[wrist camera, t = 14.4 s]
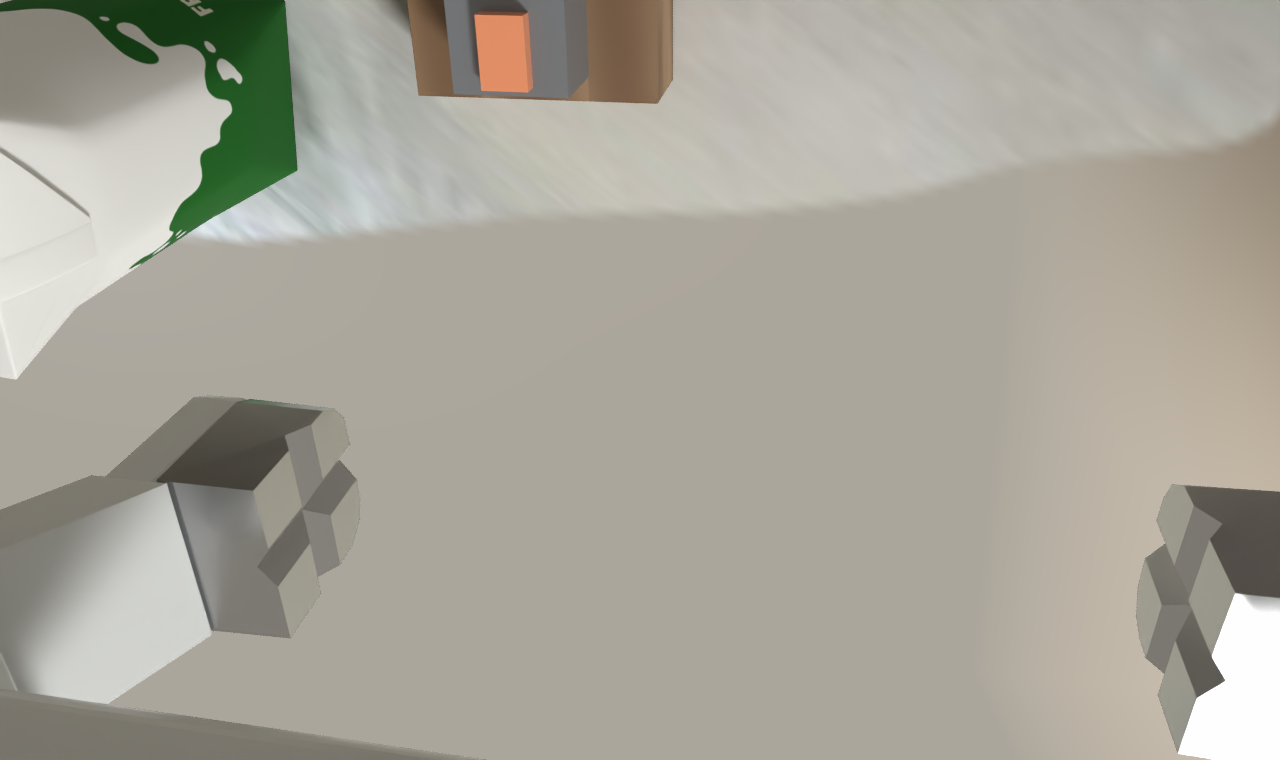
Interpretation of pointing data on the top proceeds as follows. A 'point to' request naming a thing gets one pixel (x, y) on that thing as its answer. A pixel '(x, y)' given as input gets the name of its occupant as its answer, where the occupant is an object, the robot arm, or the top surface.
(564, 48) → the grey bar
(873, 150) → the top surface
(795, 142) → the top surface
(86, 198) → the milk carton
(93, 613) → the robot arm
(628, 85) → the keyhole board
